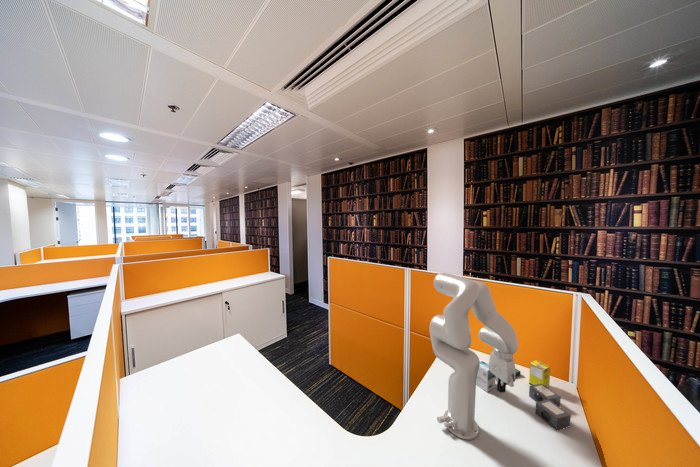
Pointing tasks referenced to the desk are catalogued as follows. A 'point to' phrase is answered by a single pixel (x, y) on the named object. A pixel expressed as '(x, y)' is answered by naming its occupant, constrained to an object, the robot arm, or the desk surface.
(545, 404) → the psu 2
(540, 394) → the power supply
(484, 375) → the light bulb box
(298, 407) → the desk surface
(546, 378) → the supplement box
